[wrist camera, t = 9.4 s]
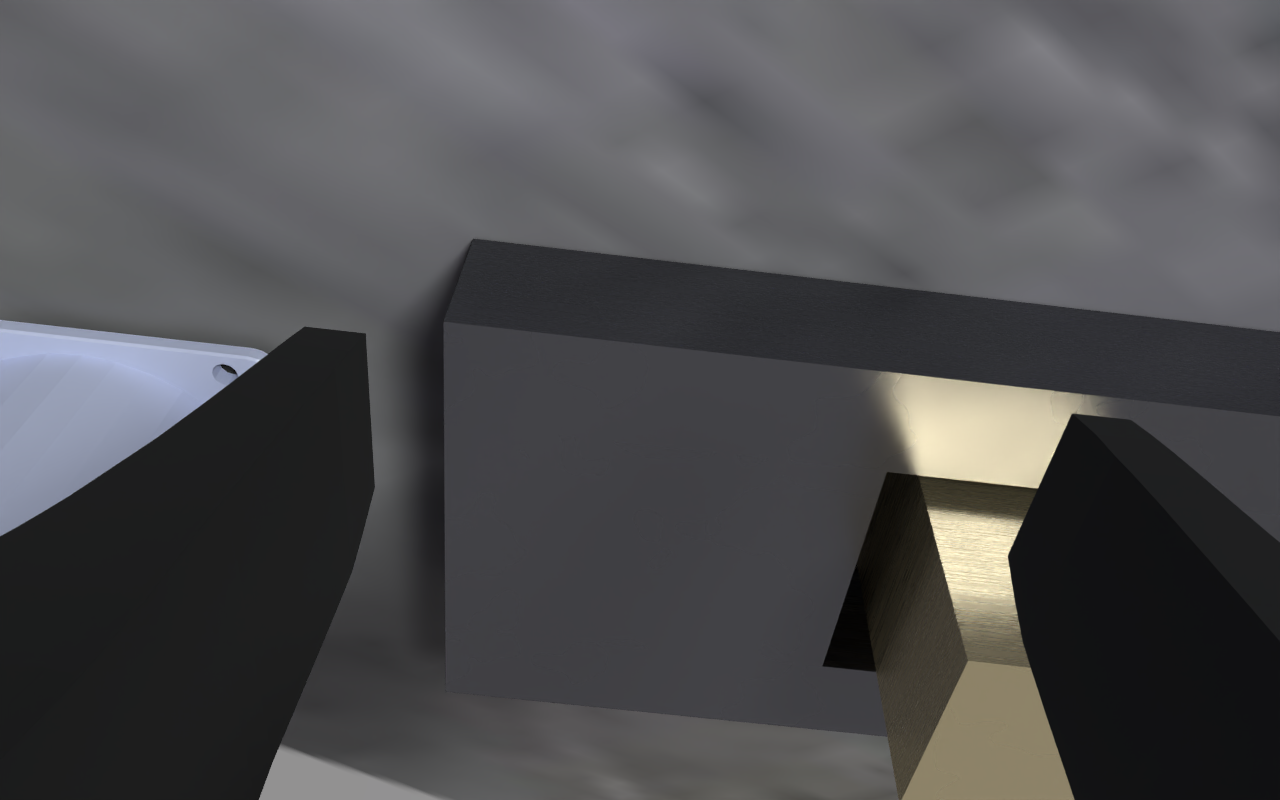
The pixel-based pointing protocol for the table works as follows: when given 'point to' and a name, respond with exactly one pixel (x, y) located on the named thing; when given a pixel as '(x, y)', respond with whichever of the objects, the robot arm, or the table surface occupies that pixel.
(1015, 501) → the brass peg
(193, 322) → the table surface
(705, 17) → the table surface
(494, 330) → the dark grey slotted block
